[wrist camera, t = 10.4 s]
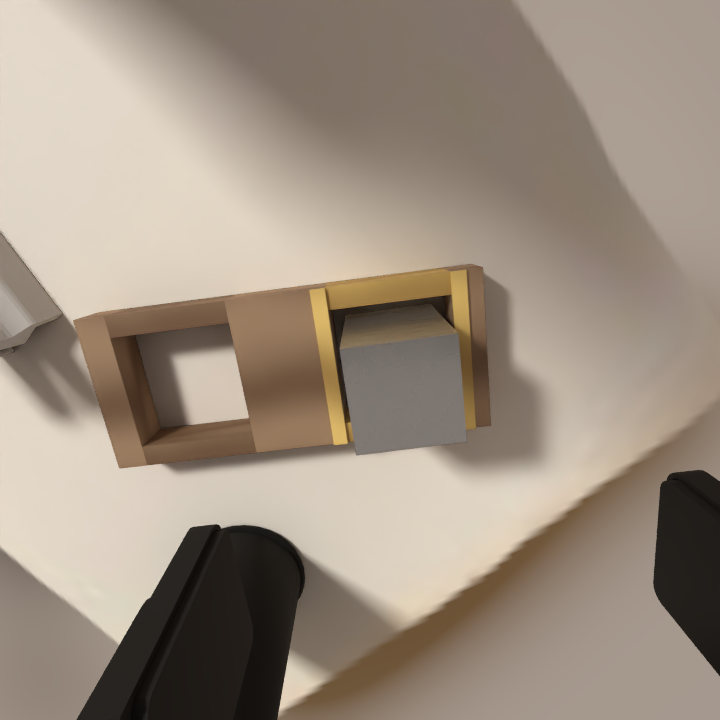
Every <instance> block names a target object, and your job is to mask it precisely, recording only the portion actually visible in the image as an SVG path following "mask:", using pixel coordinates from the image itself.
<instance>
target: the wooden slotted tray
mask: <svg viewBox="0 0 720 720" xmlns="http://www.w3.org/2000/svg"><path fill="white" fill-rule="evenodd" d="M436 296H444V305H445V318H446V321H447V322H448V323H449V324H450V325H451V326H452V327H453V328H454V329H455V330H456V331H457V332H458V335H459V347H460V360H461V373H462V385H463V398H464V410H465V423H466V430H470V429H476V427H482V426H491V419H490V399H489V379H488V360H487V340H486V320H485V301H484V281H483V267H480V266H476V265H473V264H468V265H460V266H453V267H445V268H437V269H429V270H422V271H414V272H406V273H399V274H391V275H383V276H375V277H368V278H360V279H352V280H345V281H337V282H329V283H322V284H314V285H306V286H298V287H291V288H283V289H275V290H268V291H260V292H252V293H244V294H237V295H229V296H221V297H214V298H206V299H198V300H191V301H183V302H175V303H167V304H160V305H152V306H144V307H137V308H129V309H121V310H113V311H106V312H99V313H96V314H92V315H89V316H86V317H83V318H79V319H76V320H73V322H74V325H75V328H76V331H77V335H78V338H79V341H80V344H81V347H82V351H83V354H84V357H85V360H86V363H87V367H88V370H89V373H90V376H91V379H92V383H93V386H94V389H95V392H96V395H97V399H98V402H99V405H100V408H101V411H102V415H103V418H104V421H105V424H106V427H107V431H108V434H109V437H110V440H111V443H112V447H113V450H114V453H115V456H116V459H117V463H118V466H119V468H128V467H137V466H145V465H154V464H163V463H171V462H180V461H188V460H197V459H206V458H214V457H223V456H232V455H240V454H249V453H258V452H266V451H275V450H284V449H292V448H301V447H310V446H318V445H327V444H334V445H340V444H348V442H353V441H354V439H353V432H352V426H351V420H350V413H349V407H346V400H345V394H344V387H343V380H342V373H341V366H340V360H339V353H338V346H337V339H336V332H335V326H334V319H333V312H332V310H334V309H342V308H350V307H358V306H365V305H373V304H381V303H389V302H397V301H405V300H413V299H420V298H428V297H436ZM224 323H229V326H230V330H231V335H232V340H233V344H234V349H235V354H236V358H237V363H238V368H239V372H240V377H241V382H242V386H243V391H244V396H245V400H246V405H247V410H248V414H249V418H248V419H239V420H231V421H222V422H214V423H205V424H197V425H189V426H180V427H172V428H163V429H160V425H159V421H158V418H157V414H156V411H155V407H154V403H153V400H152V396H151V393H150V389H149V385H148V382H147V378H146V374H145V371H144V367H143V364H142V360H141V356H140V353H139V349H138V345H137V342H136V338H135V335H138V334H146V333H153V332H161V331H169V330H177V329H185V328H193V327H201V326H208V325H216V324H224Z"/></svg>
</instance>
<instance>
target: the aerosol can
mask: <svg viewBox="0 0 720 720" xmlns="http://www.w3.org/2000/svg"><path fill="white" fill-rule="evenodd" d="M221 530H222V531H224V530H227V531H228V532H229V534H230V537H231V541H232V545H233V549H234V553H235V557H236V561H237V565H238V569H239V573H240V577H241V581H242V585H243V589H244V593H245V597H246V601H247V605H248V609H249V613H250V617H251V621H252V625H253V643H252V647H251V651H250V655H249V659H248V663H247V667H246V671H245V675H244V679H243V682H242V686H241V690H240V694H239V698H238V702H237V706H236V710H235V714H234V718H233V720H277V717H278V712H279V706H280V700H281V694H282V688H283V683H284V677H285V671H286V665H287V660H288V654H289V648H290V642H291V636H292V631H293V625H294V619H295V613H296V607H297V602H298V599H299V598H300V596H301V594H302V591H303V588H304V582H305V574H304V567H303V564H302V562H301V559H300V557H299V555H298V554H297V552H296V550H295V549H294V548H293V547H292V546H291V545H290V544H289V543H288V542H287V541H286V540H285V539H283V538H282V537H280V536H279V535H277V534H275V533H273V532H271V531H269V530H266V529H263V528H259V527H255V526H246V525H242V526H231V527H226V528H222V529H221Z"/></svg>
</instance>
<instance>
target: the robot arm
mask: <svg viewBox="0 0 720 720" xmlns="http://www.w3.org/2000/svg"><path fill="white" fill-rule="evenodd" d="M657 527H658V528H657V541H656V553H655V567H654V581H653V584H654V590H655V593H656V595H657V597H658V599H659V600H660V602H661V604H662V605H663V606H664V607H665V609H666V610H667V611H668V612H669V614H670V615H671V616H672V617H673V619H674V620H675V621H676V622H677V624H678V625H679V626H680V627H681V628H682V630H683V631H684V632H685V634H686V635H687V636H688V637H689V638H690V640H691V641H692V642H693V643H694V645H695V646H696V647H697V648H698V650H699V651H700V652H701V653H702V654H703V656H704V657H705V658H706V660H707V661H708V662H709V663H710V664H711V666H712V667H713V668H714V669H715V671H716V672H717V673H718V674H719V676H720V481H718V480H717V479H715V478H714V477H713V476H711V475H710V474H708V473H707V472H705V471H703V470H695V471H686V472H676V473H672V474H670V475H669V476H668V478H667V481H664V482H662V484H661V487H660V500H659V513H658V526H657ZM252 643H253V625H252V621H251V617H250V613H249V609H248V605H247V601H246V597H245V593H244V589H243V585H242V581H241V577H240V573H239V569H238V565H237V561H236V557H235V553H234V549H233V545H232V541H231V537H230V534H229V532H228V531H227V530H224V531H222V530H221V527H220V526H219V525H217V524H215V525H206V526H197V527H192V528H190V529H189V531H188V532H187V534H186V536H185V538H184V539H183V541H182V543H181V545H180V546H179V548H178V550H177V552H176V553H175V555H174V557H173V559H172V561H171V562H170V564H169V566H168V568H167V569H166V571H165V573H164V575H163V576H162V578H161V580H160V582H159V584H158V585H157V587H156V589H155V591H154V592H153V594H152V596H151V598H149V599H148V600H146V601H145V603H144V604H143V606H142V607H141V609H140V610H139V612H138V614H137V616H136V617H135V619H134V621H133V622H132V624H131V626H130V628H129V629H128V631H127V633H126V635H125V636H124V638H123V640H122V642H121V643H120V645H119V647H118V649H117V650H116V653H115V654H114V656H113V657H112V659H111V661H110V663H109V664H108V666H107V668H106V669H105V671H104V673H103V675H102V677H101V678H100V680H99V682H98V683H97V685H96V687H95V689H94V691H93V692H92V694H91V696H90V697H89V699H88V701H87V703H86V704H85V706H84V708H83V709H82V711H81V713H80V715H79V716H78V718H77V720H233V718H234V714H235V710H236V706H237V702H238V698H239V694H240V690H241V686H242V682H243V679H244V675H245V671H246V667H247V663H248V659H249V655H250V651H251V647H252Z"/></svg>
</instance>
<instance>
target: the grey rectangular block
mask: <svg viewBox="0 0 720 720" xmlns="http://www.w3.org/2000/svg"><path fill="white" fill-rule="evenodd" d="M339 350H340V356H341V362H342V369H343V375H344V382H345V388H346V394H347V401H348V407H349V413H350V420H351V426H352V432H353V439H354V445H355V452H356V455H364V454H372V453H380V452H388V451H396V450H404V449H413V448H421V447H429V446H437V445H445V444H453V443H461V442H467V436H466V423H465V410H464V398H463V385H462V373H461V360H460V347H459V335H458V332H457V331H456V330H455V329H454V328H453V327H452V326H451V325H450V324H449V323H448V322H447V321H446V320H445V319H444V318H443V317H442V316H441V315H440V314H439V313H438V312H437V311H436V310H435V308H434V307H433V306H432V305H431V304H423V305H416V306H408V307H401V308H394V309H387V310H379V311H372V312H365V313H357V314H350V315H346V317H345V322H344V328H343V333H342V338H341V344H340V349H339Z"/></svg>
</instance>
